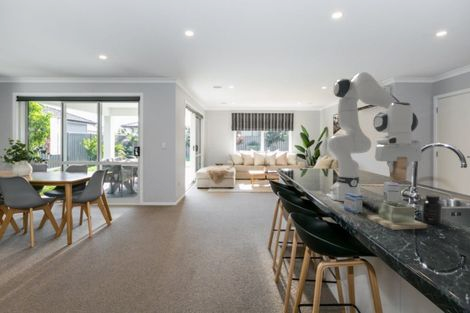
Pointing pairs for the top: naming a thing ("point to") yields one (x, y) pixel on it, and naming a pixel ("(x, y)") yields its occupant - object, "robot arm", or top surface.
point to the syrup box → (391, 192)
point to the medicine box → (353, 202)
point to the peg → (399, 169)
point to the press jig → (396, 216)
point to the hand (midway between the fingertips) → (397, 171)
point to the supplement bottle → (432, 210)
